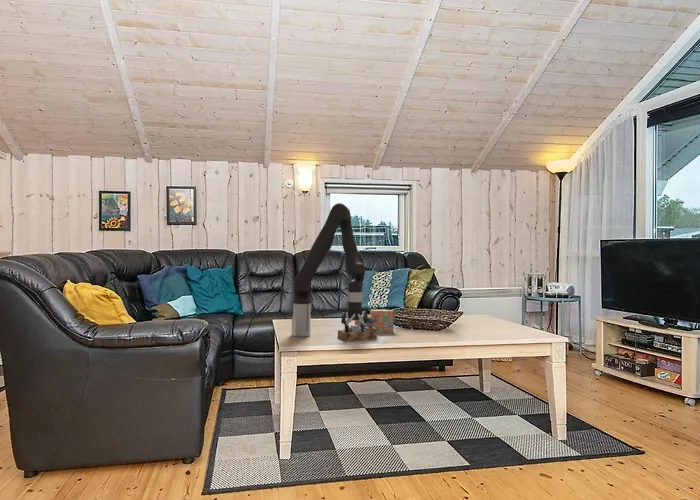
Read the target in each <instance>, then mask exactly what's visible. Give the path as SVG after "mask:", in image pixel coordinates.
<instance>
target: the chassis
mask: <svg viewBox="0 0 700 500" xmlns="http://www.w3.org/2000/svg"><path fill="white" fill-rule="evenodd" d="M337 338H338V339H340V340H342V341H345V342H356V341H367V340H372V339H377V338H378V332H377V328H374V327H373V323H370V322H369V327H365V328H364V330H363V332H353V333H348V332H346V331H345V329H338V330H337Z"/></svg>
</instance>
